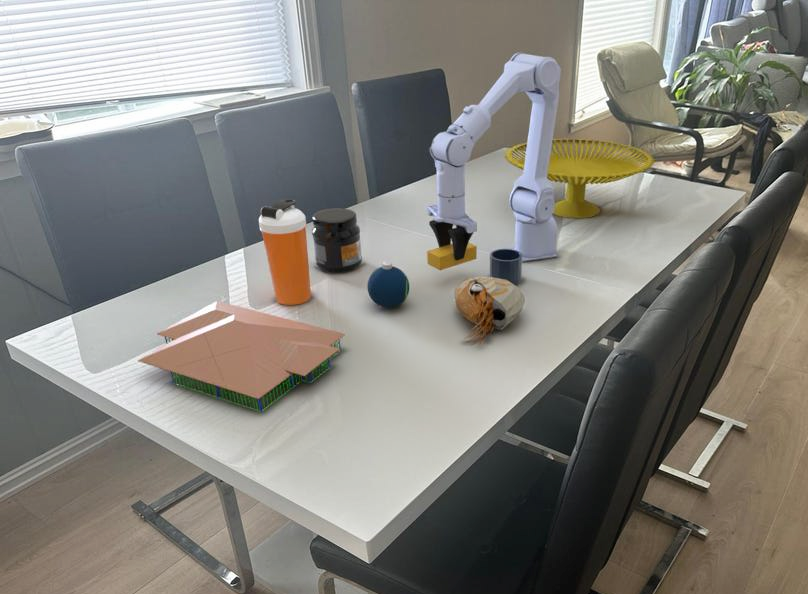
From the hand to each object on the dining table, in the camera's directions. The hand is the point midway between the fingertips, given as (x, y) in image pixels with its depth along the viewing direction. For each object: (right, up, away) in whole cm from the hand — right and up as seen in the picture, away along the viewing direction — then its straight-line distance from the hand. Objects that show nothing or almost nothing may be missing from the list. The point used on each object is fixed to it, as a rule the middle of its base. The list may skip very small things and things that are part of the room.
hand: (452, 255), depth 149 cm
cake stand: (+33, +19, +44) cm, 58 cm away
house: (-35, -23, -28) cm, 51 cm away
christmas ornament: (-12, -12, -8) cm, 19 cm away
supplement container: (-26, -1, +9) cm, 28 cm away
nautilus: (+7, -16, -15) cm, 23 cm away
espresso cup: (+12, -5, +3) cm, 13 cm away
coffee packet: (0, -1, +1) cm, 1 cm away
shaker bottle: (-33, -10, -5) cm, 35 cm away
